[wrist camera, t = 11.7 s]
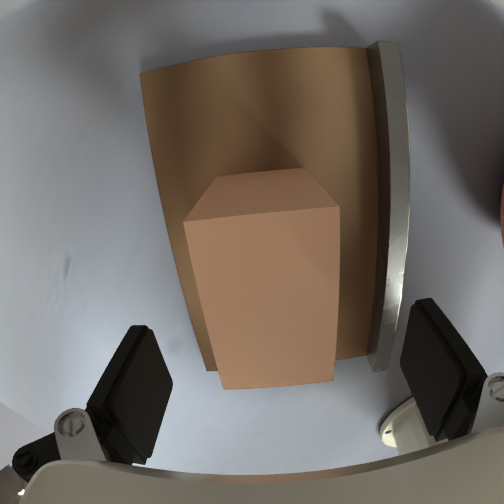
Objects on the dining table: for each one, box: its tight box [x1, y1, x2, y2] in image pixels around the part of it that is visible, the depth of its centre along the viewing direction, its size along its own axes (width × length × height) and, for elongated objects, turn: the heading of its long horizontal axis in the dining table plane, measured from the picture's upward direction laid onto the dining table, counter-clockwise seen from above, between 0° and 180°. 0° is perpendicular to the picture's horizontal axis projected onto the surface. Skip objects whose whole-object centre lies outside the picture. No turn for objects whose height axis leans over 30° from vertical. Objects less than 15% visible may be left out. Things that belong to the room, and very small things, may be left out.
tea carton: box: [183, 168, 340, 390], centre depth 15 cm, size 8×5×8 cm, turn 7°
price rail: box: [366, 41, 410, 372], centre depth 18 cm, size 2×22×4 cm, turn 8°
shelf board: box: [140, 47, 378, 371], centre depth 19 cm, size 13×22×2 cm, turn 7°
